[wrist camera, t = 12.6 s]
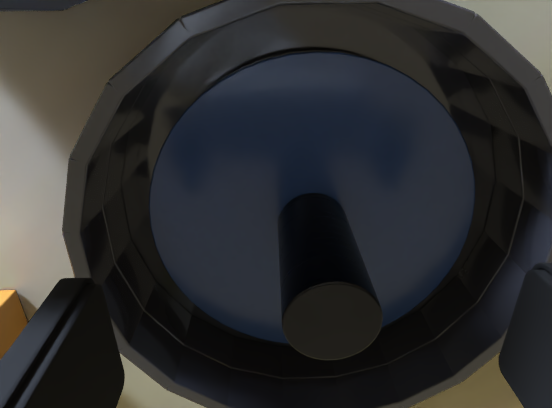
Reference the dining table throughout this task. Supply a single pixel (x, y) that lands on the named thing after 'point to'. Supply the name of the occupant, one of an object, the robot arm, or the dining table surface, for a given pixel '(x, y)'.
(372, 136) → the lid
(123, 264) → the pan
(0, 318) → the block
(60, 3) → the pot
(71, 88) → the dining table surface
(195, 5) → the dining table surface
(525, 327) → the robot arm
